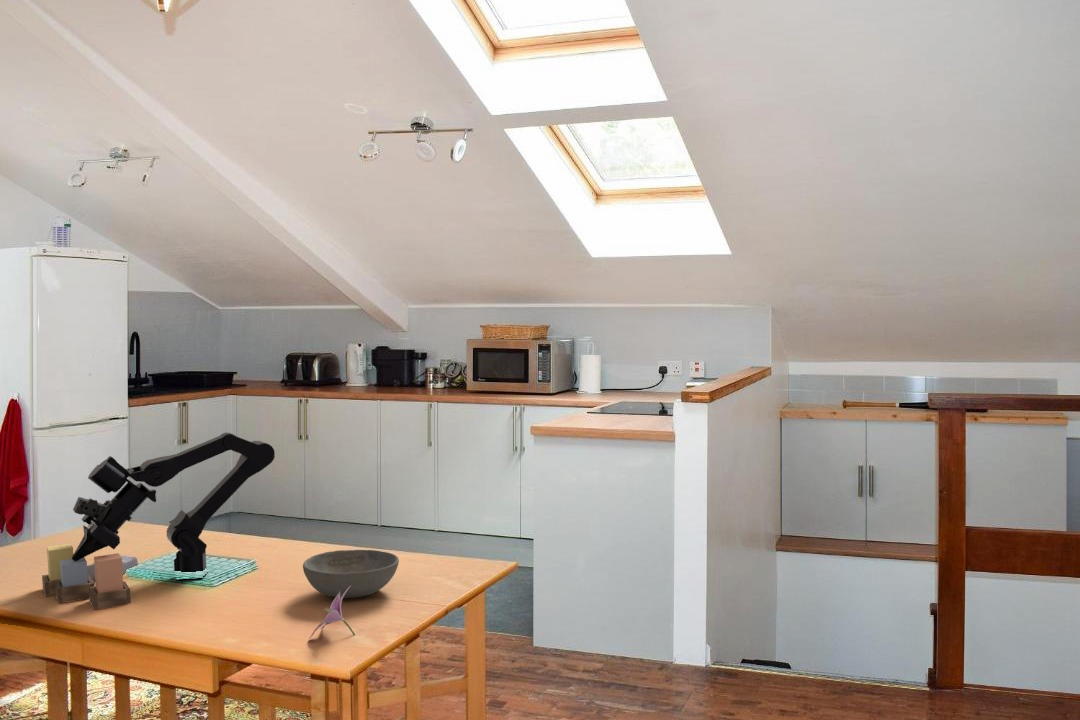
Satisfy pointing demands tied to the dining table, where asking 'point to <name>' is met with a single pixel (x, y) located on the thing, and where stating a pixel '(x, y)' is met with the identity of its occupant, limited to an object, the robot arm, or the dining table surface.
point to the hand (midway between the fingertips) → (73, 559)
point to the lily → (334, 613)
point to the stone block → (126, 564)
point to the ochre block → (57, 559)
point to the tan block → (108, 573)
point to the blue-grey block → (73, 572)
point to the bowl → (350, 572)
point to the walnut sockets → (86, 593)
